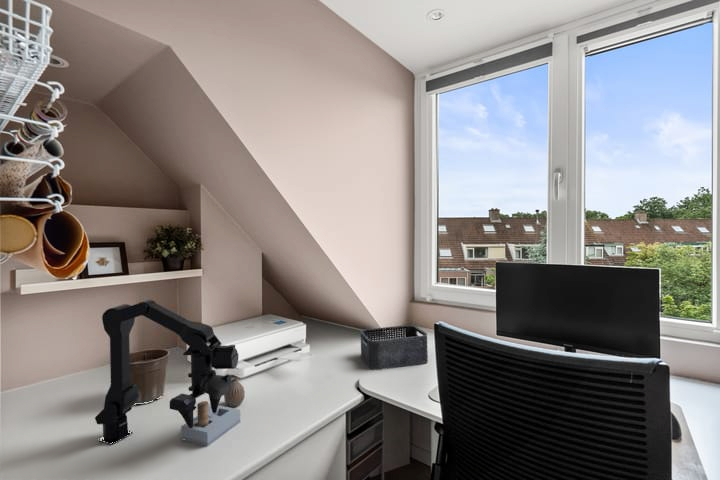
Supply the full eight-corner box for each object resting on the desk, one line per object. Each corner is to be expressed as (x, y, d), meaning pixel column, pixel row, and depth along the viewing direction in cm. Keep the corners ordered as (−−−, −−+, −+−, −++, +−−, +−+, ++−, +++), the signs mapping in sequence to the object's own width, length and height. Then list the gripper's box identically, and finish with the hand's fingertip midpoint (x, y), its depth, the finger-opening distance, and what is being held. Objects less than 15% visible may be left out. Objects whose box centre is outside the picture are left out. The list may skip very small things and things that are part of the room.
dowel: (195, 434, 108) (194, 405, 108) (203, 429, 111) (202, 400, 111) (203, 436, 107) (202, 406, 107) (211, 431, 110) (210, 402, 110)
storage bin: (370, 371, 158) (370, 340, 158) (359, 356, 177) (358, 329, 176) (430, 363, 166) (430, 334, 165) (413, 350, 184) (413, 324, 184)
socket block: (181, 439, 108) (181, 426, 108) (216, 416, 121) (215, 404, 121) (207, 446, 104) (207, 432, 104) (240, 421, 117) (240, 409, 117)
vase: (237, 398, 134) (237, 374, 134) (248, 403, 130) (248, 379, 129) (220, 405, 129) (219, 380, 128) (231, 411, 124) (230, 385, 124)
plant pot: (171, 385, 146) (170, 345, 146) (169, 402, 132) (168, 358, 131) (124, 393, 139) (122, 352, 139) (116, 412, 125) (114, 366, 124)
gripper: (198, 384, 97) (199, 442, 97) (244, 361, 114) (245, 409, 115) (167, 379, 101) (169, 434, 101) (216, 357, 118) (217, 404, 119)
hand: (203, 419), depth 109 cm, fingers open, 9 cm apart
